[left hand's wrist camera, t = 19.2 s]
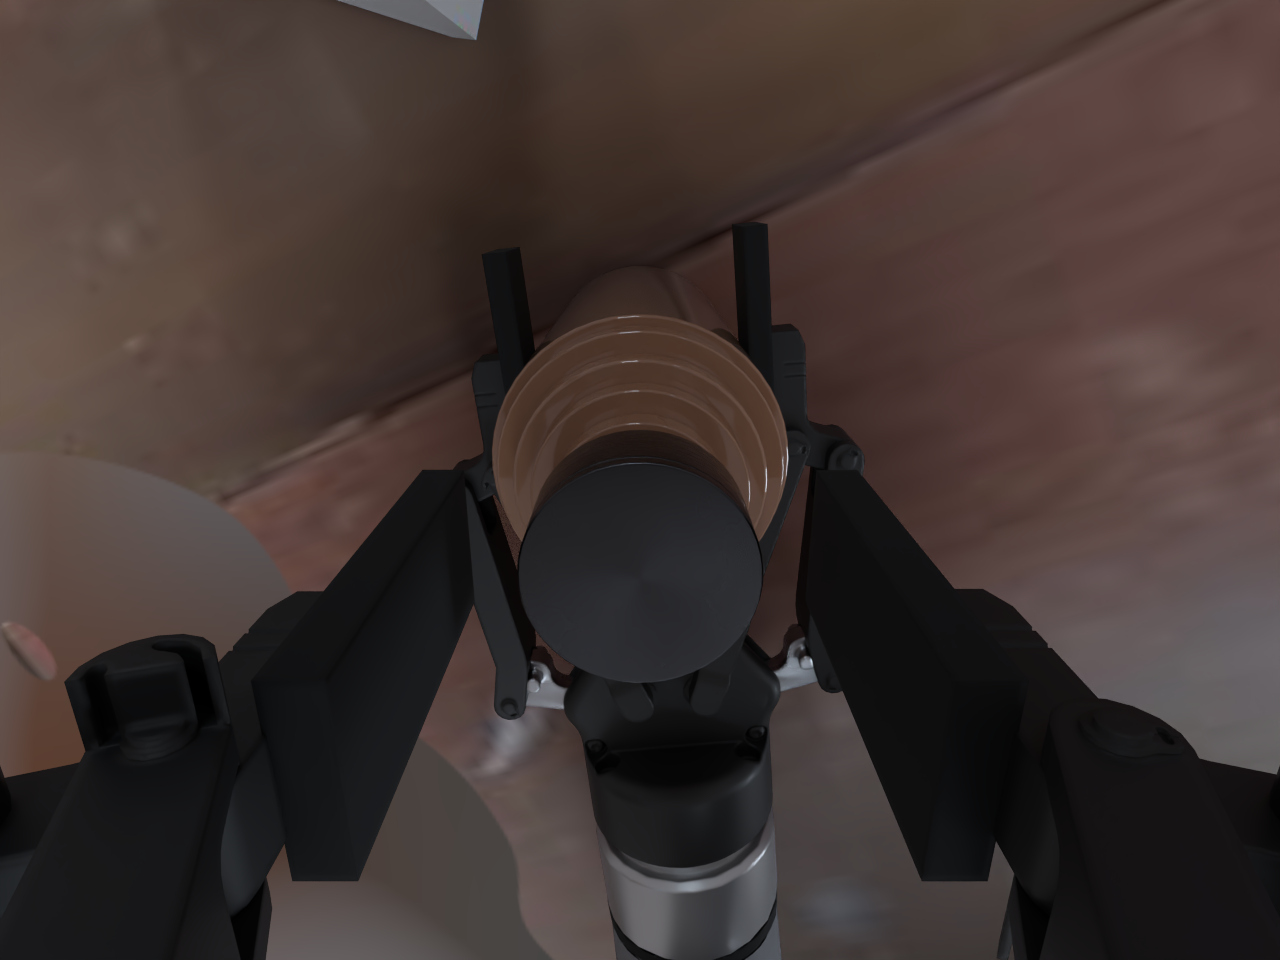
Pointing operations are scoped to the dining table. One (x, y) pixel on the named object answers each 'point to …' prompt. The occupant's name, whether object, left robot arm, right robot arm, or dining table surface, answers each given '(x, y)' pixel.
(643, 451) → the cap
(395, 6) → the electronic device
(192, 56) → the dining table surface
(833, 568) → the left robot arm
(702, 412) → the bottle
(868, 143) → the dining table surface
